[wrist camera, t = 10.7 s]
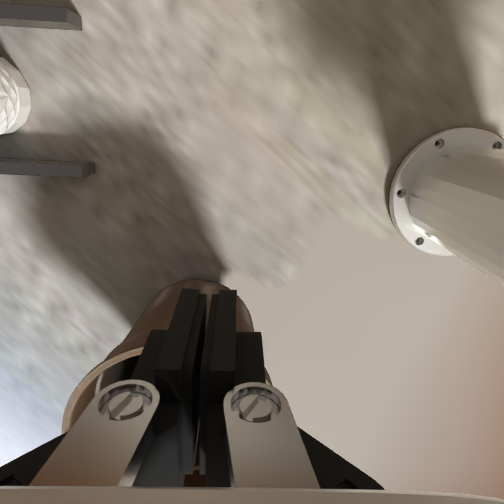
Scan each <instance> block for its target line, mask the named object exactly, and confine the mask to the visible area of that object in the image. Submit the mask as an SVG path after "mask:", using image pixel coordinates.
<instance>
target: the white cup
mask: <svg viewBox="0 0 504 504" xmlns="http://www.w3.org/2000/svg"><path fill="white" fill-rule="evenodd" d="M31 107H32V106H31V98H30V90H29V87H28V85H27V84H26V82H25V80H24V78H23V76H22V75H21V73H20V71H19V70H17V69H16V68H15V67H14V66H13V65H11V64H10V63H9V62H8V61H7V60H5V59H4V58H2V57H0V135H2V134H7V133H13V132H15V131H16V130H17V129H19V128H20V127H21V126H22V125H23V124H25V123H26V121H27V118H28V116H29V113H30V110H31Z"/></svg>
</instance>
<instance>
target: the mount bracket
mask: <svg viewBox="0 0 504 504" xmlns="http://www.w3.org/2000/svg"><path fill="white" fill-rule="evenodd" d="M0 26H14V27H31V28H48V29H65V30H82V21H81V17H80V16H79V15H77V14H75V13H74V12H72V11H71V10H69V9H67V8H65V7H49V6H32V5H16V4H0ZM93 173H95V166H94V162H79V161H56V160H34V159H12V158H0V174H10V175H33V176H56V177H79V178H83V177H86V176H88V175H91V174H93Z"/></svg>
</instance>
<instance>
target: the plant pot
mask: <svg viewBox="0 0 504 504" xmlns="http://www.w3.org/2000/svg"><path fill="white" fill-rule="evenodd" d="M182 288H186V289H200V292H201V294H207V323H208V317H209V311H210V304H211V298H212V294H219V290H230V289H229V288H228V287H226V286H224V285H221V284H219V283H217V282H207V281H202V280H198V279H190V280H184V281H181V282H177V283H175V284H172V285H170V286H168V287H167V288H165V289H163V290H162V291H161V292H159V293H158V294H157V295H156V296H155V297H154V298H153V299H152V300H151V302H150V303H149V305H148V306H147V308H146V309H145V311H144V312H143V314H142V315H141V317H140V318H139V320H138V321H137V322H136V324H135V325H134V327H133V328H132V329H131V331H130V332H129V334H128V335H127V337H126V338H125V339H124V341H123V342H122V343H121V344H120V345H118V346H117V347H116V348H115V349H114V350H113V351H112V352H111V353H110V354H109V355H108V356H107V357H106V359H105V360H104V361H103V362H101V363H100V364H99V365H97V366H96V367H95V368H94V369H93V370H91V371H90V372H89V373H88V374H87V375H86V376H85V377H84V379H83V380H82V381H81V382H80V383H79V385H78V386H77V387H76V389H75V390H74V392H73V393H72V395H71V397H70V398H69V401H68V403H67V406H66V408H65V412H64V415H63V422H62V434H64V433H66V432H68V431H69V430H70V429H71V428H72V426H73V425H74V424H75V422H76V421H77V420H78V418H79V417H80V416H81V414H82V413H83V412H84V410H85V409H86V408H87V406H88V405H89V404H90V402H91V401H92V399H93V398H94V397H95V396H96V395H97V394H98V393H99V392H100V391H101V390H102V389H104V388H106V387H107V386H109V385H111V384H114V383H116V382H119V381H125V380H130V379H131V376H132V374H133V372H134V369H135V367H136V364H137V362H138V360H139V357H140V355H141V353H142V350H143V348H144V345H145V343H146V341H147V338H148V336H149V333H150V331H151V330H152V329H165V330H168V328H169V325H170V322H171V319H172V316H173V313H174V310H175V307H176V305H177V302H178V299H179V296H180V293H181V290H182ZM236 331H240V332H254V328H253V323H252V319H251V315H250V313H249V311H248V309H247V307H246V305H245V304H244V302H243V301H242V300H241V299H240V298H239V296H237V302H236ZM265 378H266V384H269V385H271V386H273V385H272V383H271V379H270V377H269V374H268V372H267V370H266V368H265ZM183 487H206V475H205V474H200V426H199V433H198V441H197V449H196V456H195V464H194V471H193V474H185V478H184V484H183Z"/></svg>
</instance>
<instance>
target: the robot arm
mask: <svg viewBox="0 0 504 504" xmlns="http://www.w3.org/2000/svg"><path fill="white" fill-rule="evenodd" d="M436 141H437V145H436V146H435V142H436ZM398 190H400V193H399V194H397V192H398ZM389 209H390V215H391V219H392V221H393V224H394V226H395V228H396V230H397V231H398V233H399V234H400V236H401V237H402V238H403V239H404V240H406V241H407V242H408V243H409V244H410V245H412V246H413V247H414V248H416V249H418V250H420V251H422V252H425V253H427V254H432V255H436V256H451V255H456V256H458V257H459V258H460V259H462V260H463V261H465V262H466V263H468V264H469V265H471V266H473V267H474V268H476V269H477V270H479V271H480V272H482V273H483V274H485V275H486V276H488V277H489V278H491V279H493V280H494V281H496V282H497V283H499V284H500V285H502V286H503V287H504V140H503V139H502V138H500V137H499V136H497V135H496V134H494V133H491V132H489V131H486V130H483V129H477V128H463V127H461V128H454V129H448V130H445V131H442V132H439V133H436V134H434V135H432V136H431V137H429V138H427V139H425V140H423V141H422V142H421V143H420V144H419V145H417V146H416V147H415V148H414V149H412V151H411V152H410V153H409V154H408V155H407V156H406V157H405V158H404V160H403V161H402V163H401V165H400V166H399V168H398V169H397V171H396V174H395V176H394V179H393V181H392V184H391V189H390V194H389ZM417 238H418V239H417ZM416 239H417V240H416ZM236 302H237V290H219V294H212V298H211V304H210V311H209V317H208V323H207V294H201V292H200V289H186V288H182V290H181V293H180V296H179V299H178V302H177V305H176V307H175V310H174V313H173V316H172V319H171V322H170V325H169V328H168V330H165V329H152V330H151V331H150V333H149V336H148V338H147V341H146V343H145V345H144V348H143V350H142V353H141V355H140V357H139V360H138V362H137V364H136V367H135V369H134V372H133V374H132V376H131V379H130V380H125V381H119V382H116V383H114V384H111V385H109V386H107V387H106V388H104V389H102V390H101V391H100V392H99V393H98V394H97V395H96V396H95V397H94V398H93V399H92V401H91V402H90V404H89V405H88V406H87V408H86V409H85V410H84V412H83V413H82V414H81V416H80V417H79V418H78V420H77V421H76V422H75V424H74V425H73V426H72V428H71V429H70V430H69V431H68V432H66V433H64V434H62V435H60V436H58V437H56V438H54V439H52V440H51V441H49V442H47V443H45V444H43V445H41V446H39V447H37V448H35V449H34V450H32V451H30V452H28V453H26V454H24V455H22V456H20V457H18V458H17V459H15V460H13V461H11V462H9V463H7V464H5V465H3V466H1V467H0V504H504V500H503V499H499V498H494V497H486V496H479V495H470V494H462V493H445V492H426V491H408V490H385V489H384V488H383V487H382V486H381V485H379V484H378V483H377V482H376V481H375V480H374V479H372V478H371V477H369V476H368V475H367V474H365V473H364V472H362V471H361V470H359V469H358V468H357V467H355V466H354V465H352V464H351V463H349V462H347V461H346V460H345V459H344V458H342V457H341V456H339V455H338V454H336V453H335V452H333V451H332V450H330V449H329V448H328V447H326V446H325V445H323V444H322V443H320V442H319V441H318V440H316V439H315V438H313V437H312V436H310V435H309V434H307V433H306V432H305V431H303V430H302V429H300V428H299V427H297V425H296V422H295V420H294V417H293V414H292V412H291V409H290V407H289V404H288V401H287V399H286V398H285V396H284V394H283V393H281V392H280V391H279V390H278V389H277V388H275V387H273V386H271V385H269V384H266V378H265V367H264V357H263V346H262V336H261V332H240V331H236ZM199 426H200V474H205V475H206V487H183V484H184V478H185V474H193V471H194V464H195V456H196V449H197V441H198V433H199Z"/></svg>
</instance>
